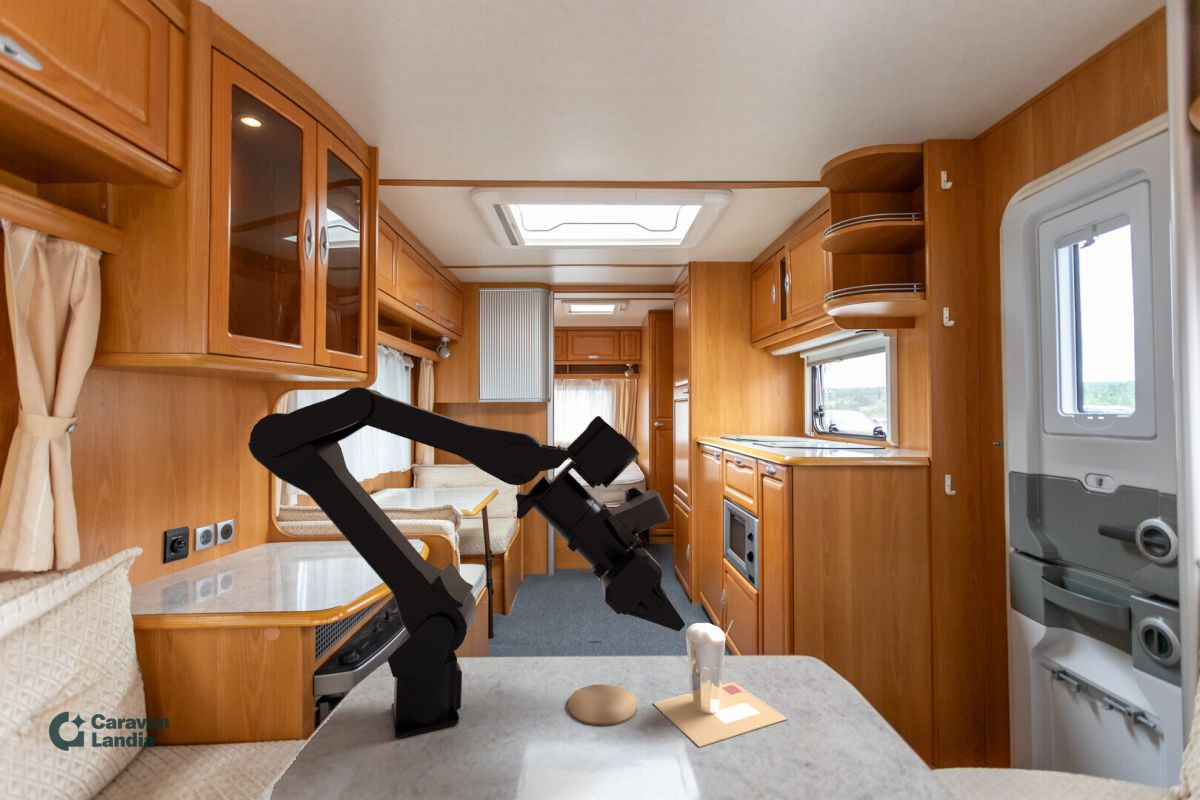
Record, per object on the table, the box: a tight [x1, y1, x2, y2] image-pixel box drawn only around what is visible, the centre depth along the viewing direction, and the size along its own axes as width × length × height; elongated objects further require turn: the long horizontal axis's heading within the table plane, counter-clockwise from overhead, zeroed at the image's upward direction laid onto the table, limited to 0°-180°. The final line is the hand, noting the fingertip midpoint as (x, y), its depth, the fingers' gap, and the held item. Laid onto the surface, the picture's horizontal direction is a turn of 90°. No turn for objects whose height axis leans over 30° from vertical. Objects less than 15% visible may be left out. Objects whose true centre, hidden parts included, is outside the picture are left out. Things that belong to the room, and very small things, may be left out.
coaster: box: [567, 683, 638, 727], centre depth 58 cm, size 8×8×1 cm
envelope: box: [652, 681, 788, 748], centre depth 57 cm, size 12×9×1 cm
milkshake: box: [685, 619, 734, 714], centre depth 58 cm, size 4×5×10 cm
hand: (672, 612), depth 58 cm, fingers open, 9 cm apart
